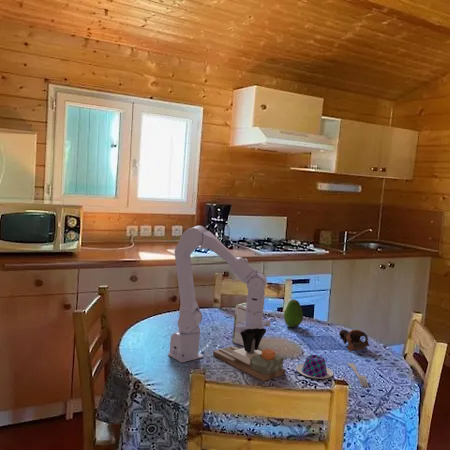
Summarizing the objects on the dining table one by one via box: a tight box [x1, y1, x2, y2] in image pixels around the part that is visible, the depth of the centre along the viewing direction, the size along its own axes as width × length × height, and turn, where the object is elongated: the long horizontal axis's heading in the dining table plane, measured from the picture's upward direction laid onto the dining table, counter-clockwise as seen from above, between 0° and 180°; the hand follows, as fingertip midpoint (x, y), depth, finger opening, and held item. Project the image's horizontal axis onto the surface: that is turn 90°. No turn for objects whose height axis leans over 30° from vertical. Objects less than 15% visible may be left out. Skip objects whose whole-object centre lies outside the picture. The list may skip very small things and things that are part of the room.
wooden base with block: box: [212, 345, 286, 382], centre depth 162 cm, size 10×24×6 cm, turn 42°
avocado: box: [283, 298, 304, 328], centre depth 206 cm, size 8×8×12 cm
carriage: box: [233, 338, 262, 365], centre depth 162 cm, size 8×8×7 cm
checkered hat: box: [295, 354, 334, 380], centre depth 161 cm, size 12×12×5 cm
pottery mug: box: [338, 329, 370, 352], centre depth 187 cm, size 12×10×8 cm
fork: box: [346, 362, 369, 388], centre depth 162 cm, size 3×21×3 cm, turn 179°
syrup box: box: [231, 302, 246, 347], centre depth 182 cm, size 6×6×14 cm
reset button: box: [261, 348, 276, 360], centre depth 156 cm, size 3×3×3 cm
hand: (250, 350), depth 162 cm, fingers closed on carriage, 3 cm apart
